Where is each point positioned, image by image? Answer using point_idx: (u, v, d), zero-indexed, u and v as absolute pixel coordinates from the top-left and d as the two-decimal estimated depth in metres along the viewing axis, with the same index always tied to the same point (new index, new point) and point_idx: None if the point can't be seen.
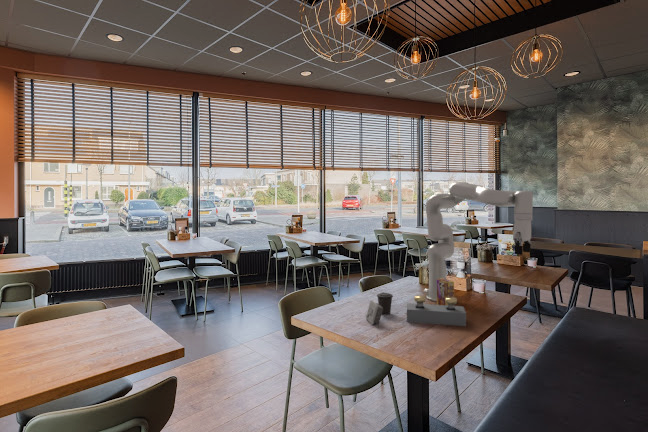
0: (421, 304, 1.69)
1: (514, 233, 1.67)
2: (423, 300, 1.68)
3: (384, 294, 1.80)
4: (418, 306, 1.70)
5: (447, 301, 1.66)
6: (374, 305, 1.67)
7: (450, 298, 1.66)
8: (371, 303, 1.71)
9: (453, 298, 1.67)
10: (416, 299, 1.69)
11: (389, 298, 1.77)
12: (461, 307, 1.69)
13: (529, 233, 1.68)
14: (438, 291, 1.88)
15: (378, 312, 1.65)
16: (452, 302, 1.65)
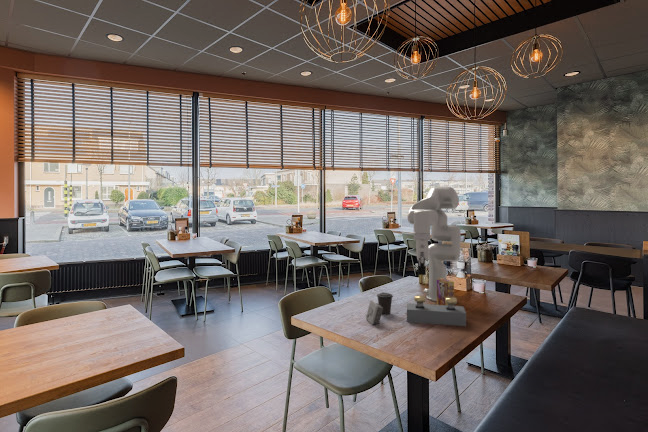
0: (421, 304, 1.69)
1: None
2: (423, 300, 1.68)
3: (384, 294, 1.80)
4: (418, 306, 1.70)
5: (447, 301, 1.66)
6: (374, 305, 1.67)
7: (450, 298, 1.66)
8: (371, 303, 1.71)
9: (453, 298, 1.67)
10: (416, 299, 1.69)
11: (389, 298, 1.77)
12: (461, 307, 1.69)
13: None
14: (438, 291, 1.88)
15: (378, 312, 1.65)
16: (452, 302, 1.65)
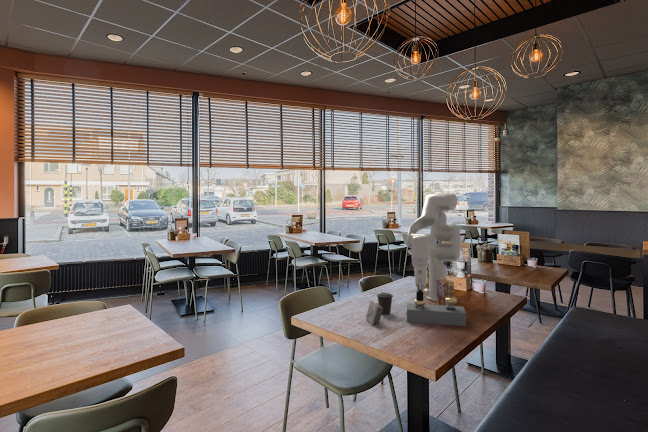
0: (421, 307, 1.69)
1: None
2: (423, 303, 1.68)
3: (384, 294, 1.80)
4: None
5: (447, 301, 1.66)
6: (374, 305, 1.67)
7: (450, 298, 1.66)
8: (371, 303, 1.71)
9: (453, 298, 1.67)
10: (416, 302, 1.69)
11: (389, 298, 1.77)
12: (461, 307, 1.69)
13: None
14: (438, 291, 1.88)
15: (378, 312, 1.65)
16: (452, 302, 1.65)
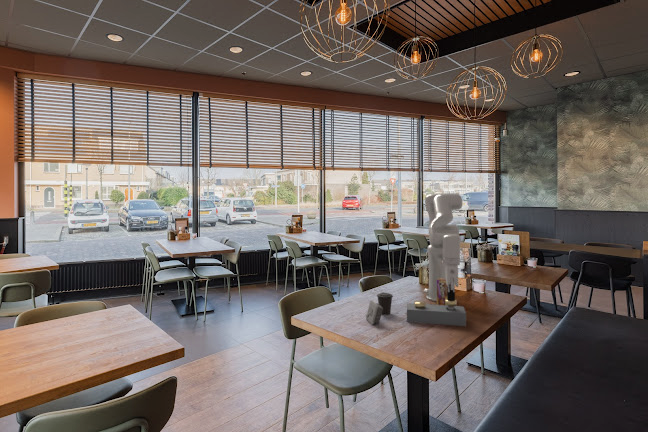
0: None
1: None
2: (423, 306, 1.68)
3: (384, 294, 1.80)
4: None
5: (447, 303, 1.66)
6: (374, 305, 1.67)
7: None
8: (371, 303, 1.71)
9: None
10: (416, 305, 1.69)
11: (389, 298, 1.77)
12: (461, 307, 1.69)
13: (446, 278, 1.66)
14: (438, 291, 1.88)
15: (378, 312, 1.65)
16: (452, 304, 1.65)
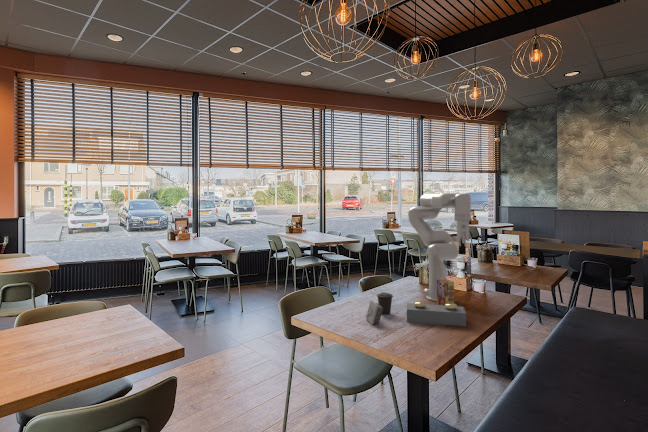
0: None
1: None
2: (423, 306, 1.68)
3: (384, 294, 1.80)
4: None
5: (447, 307, 1.66)
6: (374, 305, 1.67)
7: (449, 304, 1.66)
8: (371, 303, 1.71)
9: (453, 304, 1.67)
10: (416, 305, 1.69)
11: (389, 298, 1.77)
12: (461, 307, 1.69)
13: (457, 233, 1.81)
14: (438, 291, 1.88)
15: (378, 312, 1.65)
16: (452, 308, 1.65)
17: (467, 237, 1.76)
